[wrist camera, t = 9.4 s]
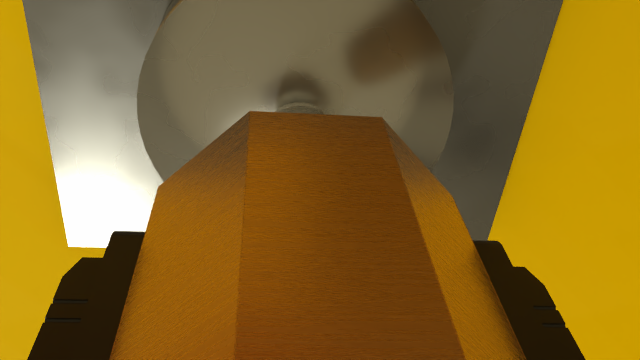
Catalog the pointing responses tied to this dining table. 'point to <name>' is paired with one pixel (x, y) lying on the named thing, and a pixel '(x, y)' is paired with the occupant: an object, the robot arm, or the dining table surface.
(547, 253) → the dining table surface
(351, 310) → the copper ring
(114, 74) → the piston base
